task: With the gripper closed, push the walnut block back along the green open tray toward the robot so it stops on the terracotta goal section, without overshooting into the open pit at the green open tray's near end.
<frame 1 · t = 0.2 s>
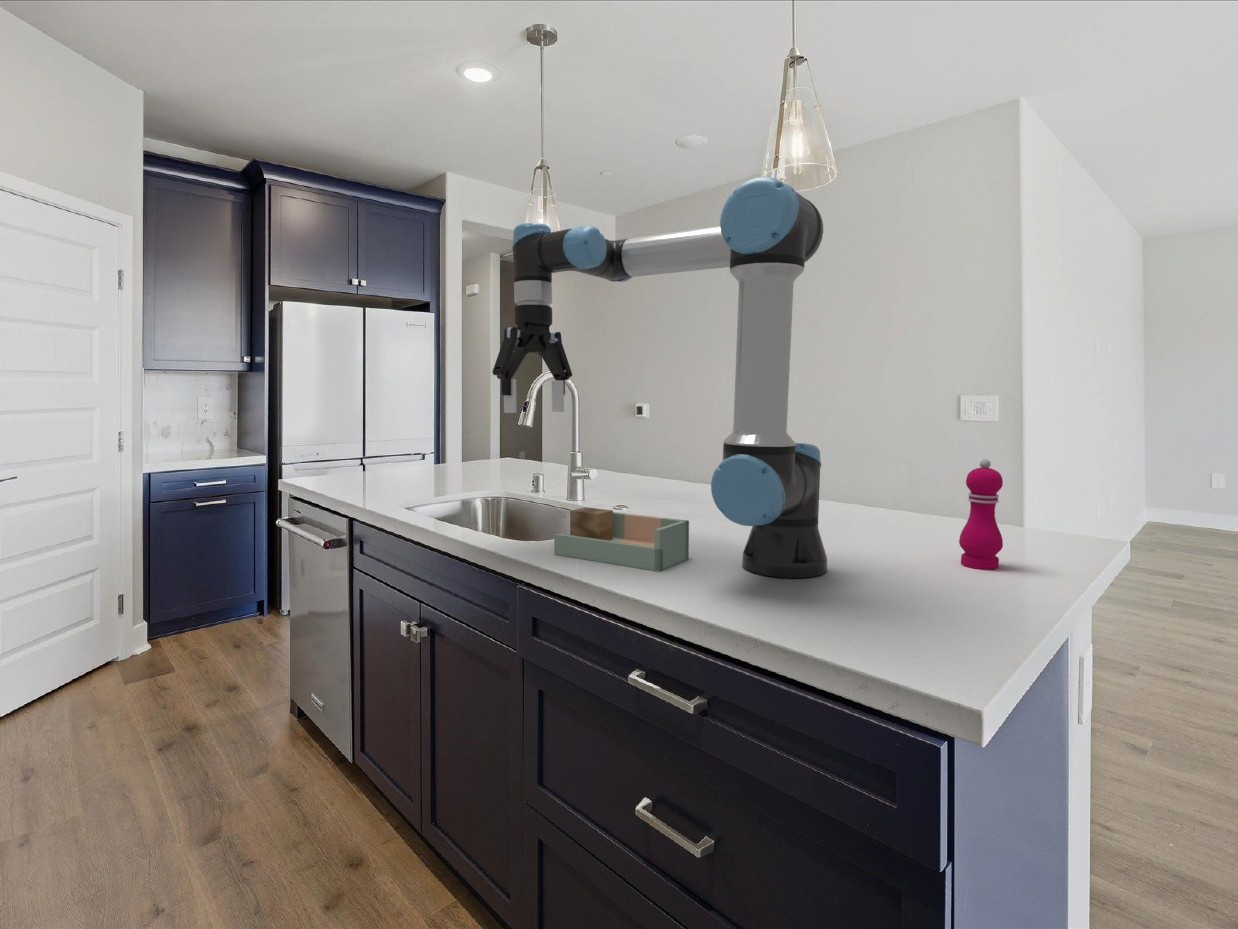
hand: (535, 412, 138), 28 cm above the countertop, fingers open, 13 cm apart
green open tray: (620, 556, 134), on the countertop
pepper mill: (979, 566, 128), on the countertop
block: (591, 539, 138), point 2 cm above the countertop, touching green open tray
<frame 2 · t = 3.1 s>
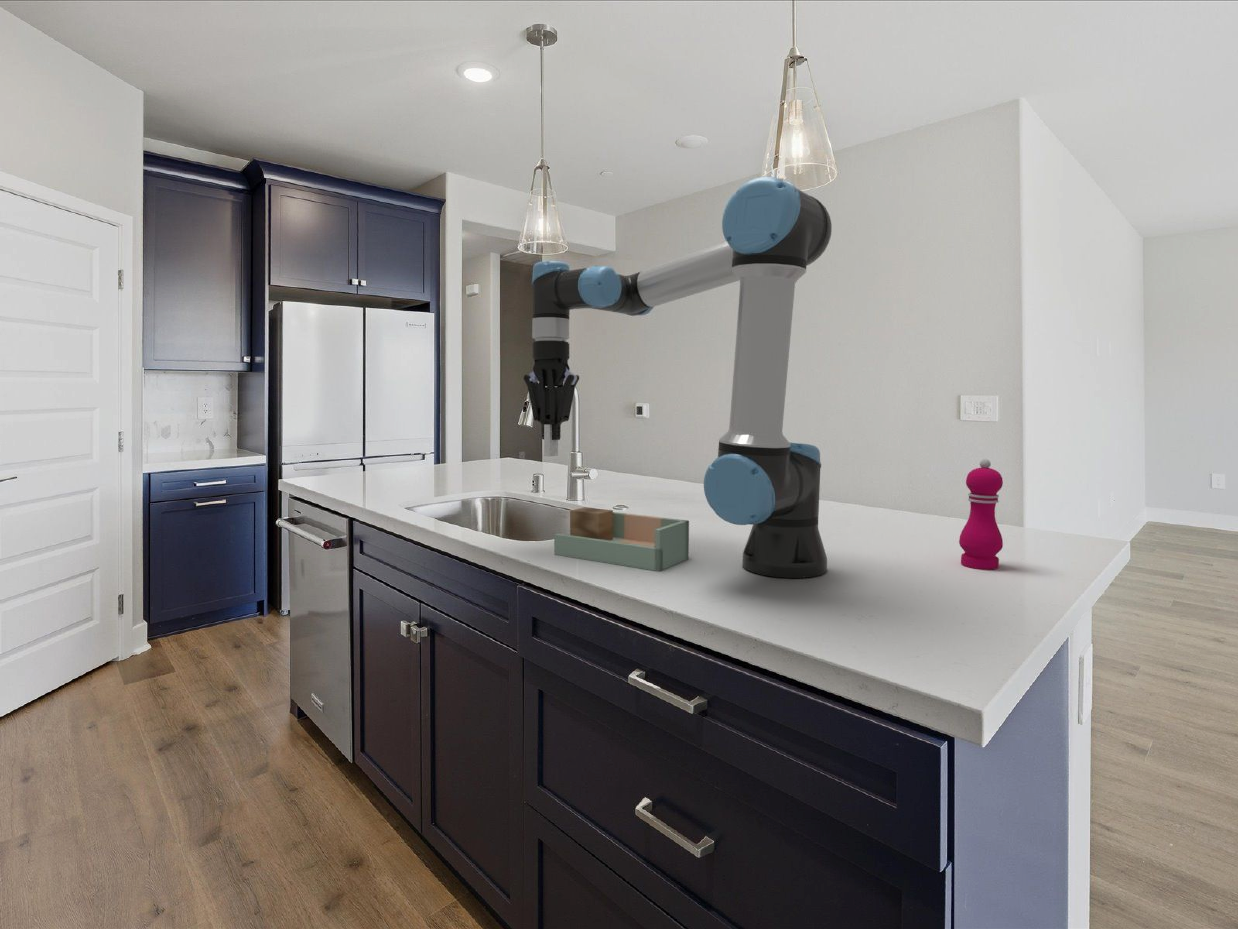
hand: (551, 455, 142), 19 cm above the countertop, fingers closed
nothing on the countertop moved.
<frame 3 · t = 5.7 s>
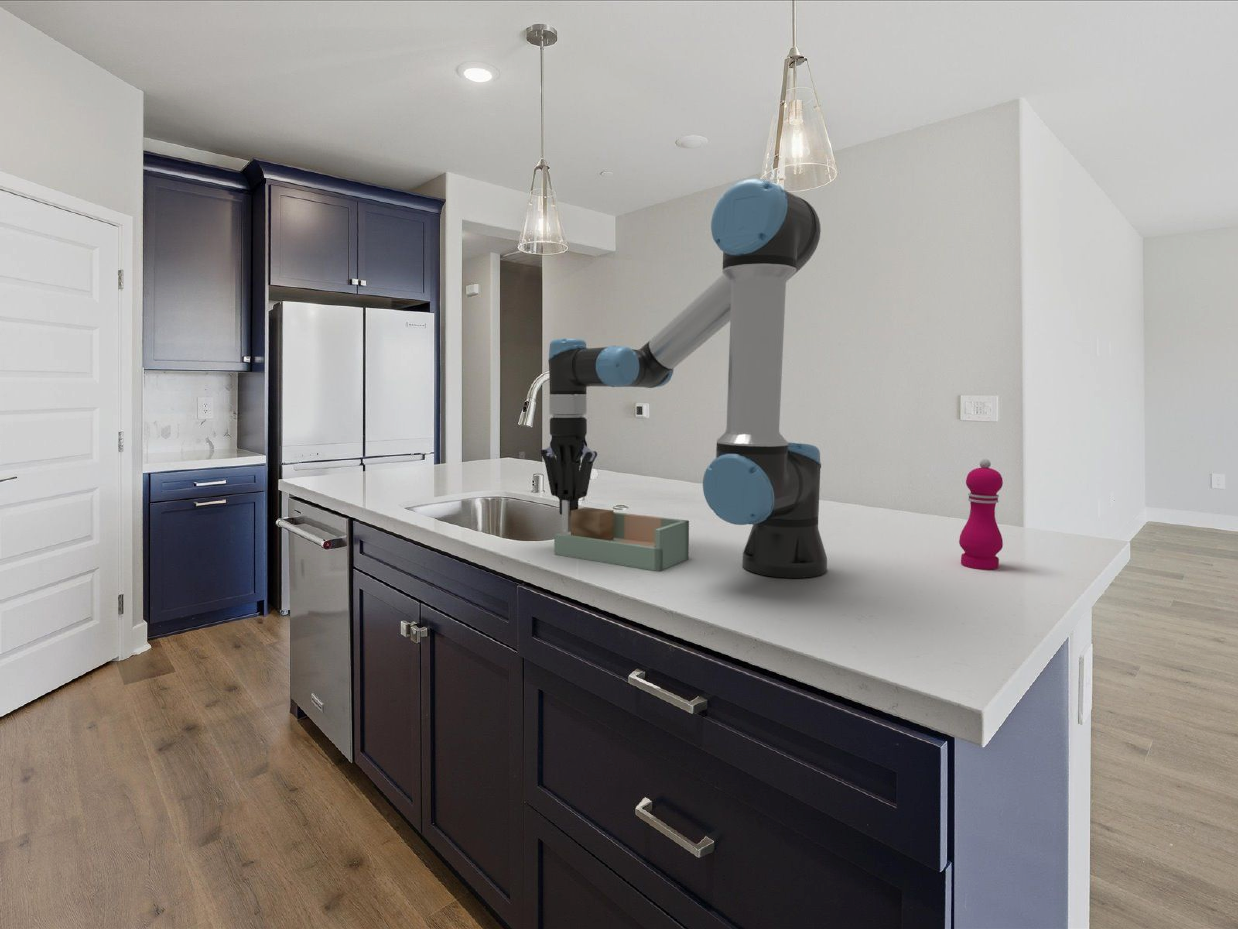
hand: (569, 530, 141), 4 cm above the countertop, fingers closed
block: (592, 539, 138), point 3 cm above the countertop, touching gripper, green open tray
everything else where it was.
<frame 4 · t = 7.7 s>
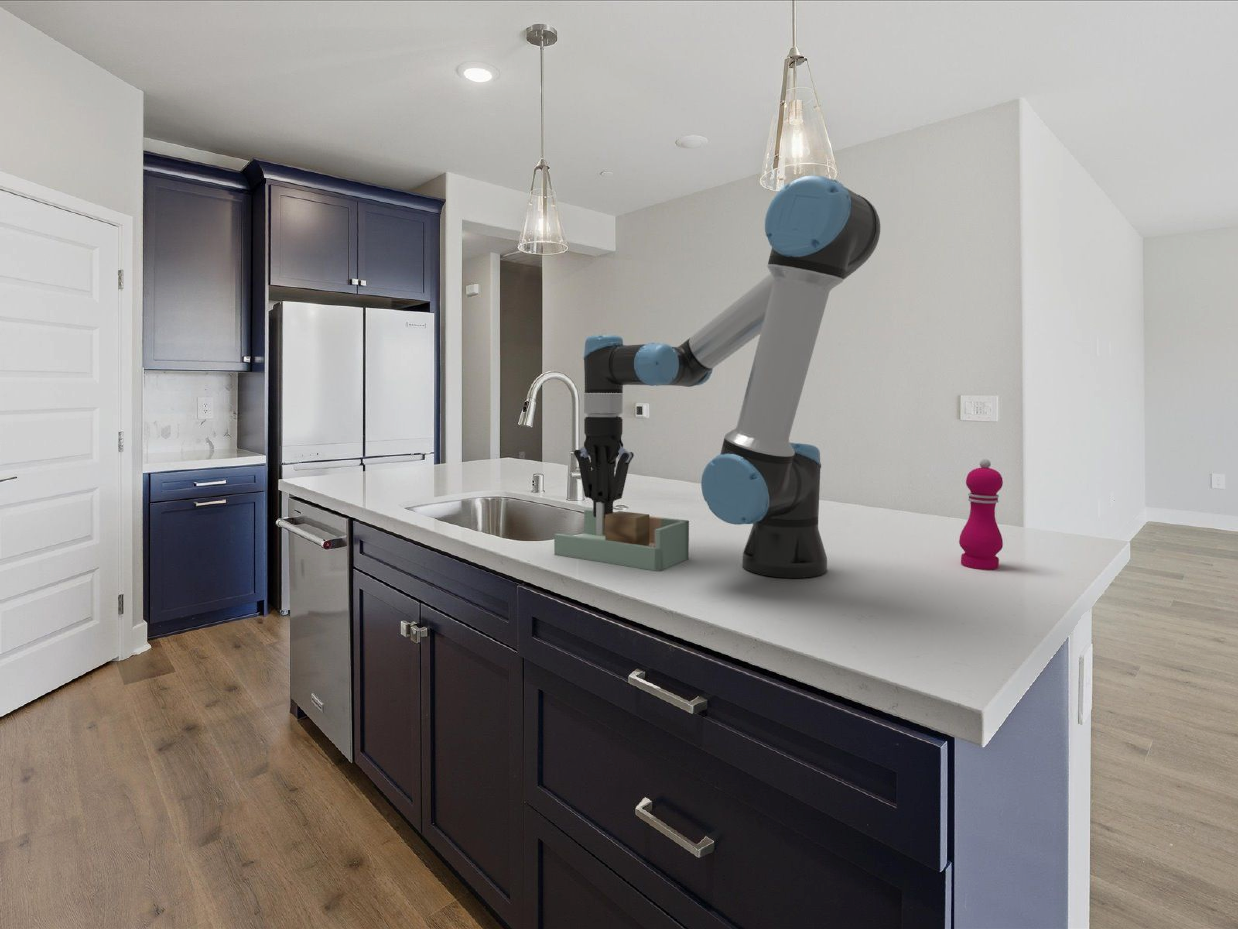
hand: (603, 534, 136), 4 cm above the countertop, fingers closed
block: (627, 544, 133), point 2 cm above the countertop, touching gripper, green open tray
everything else where it was.
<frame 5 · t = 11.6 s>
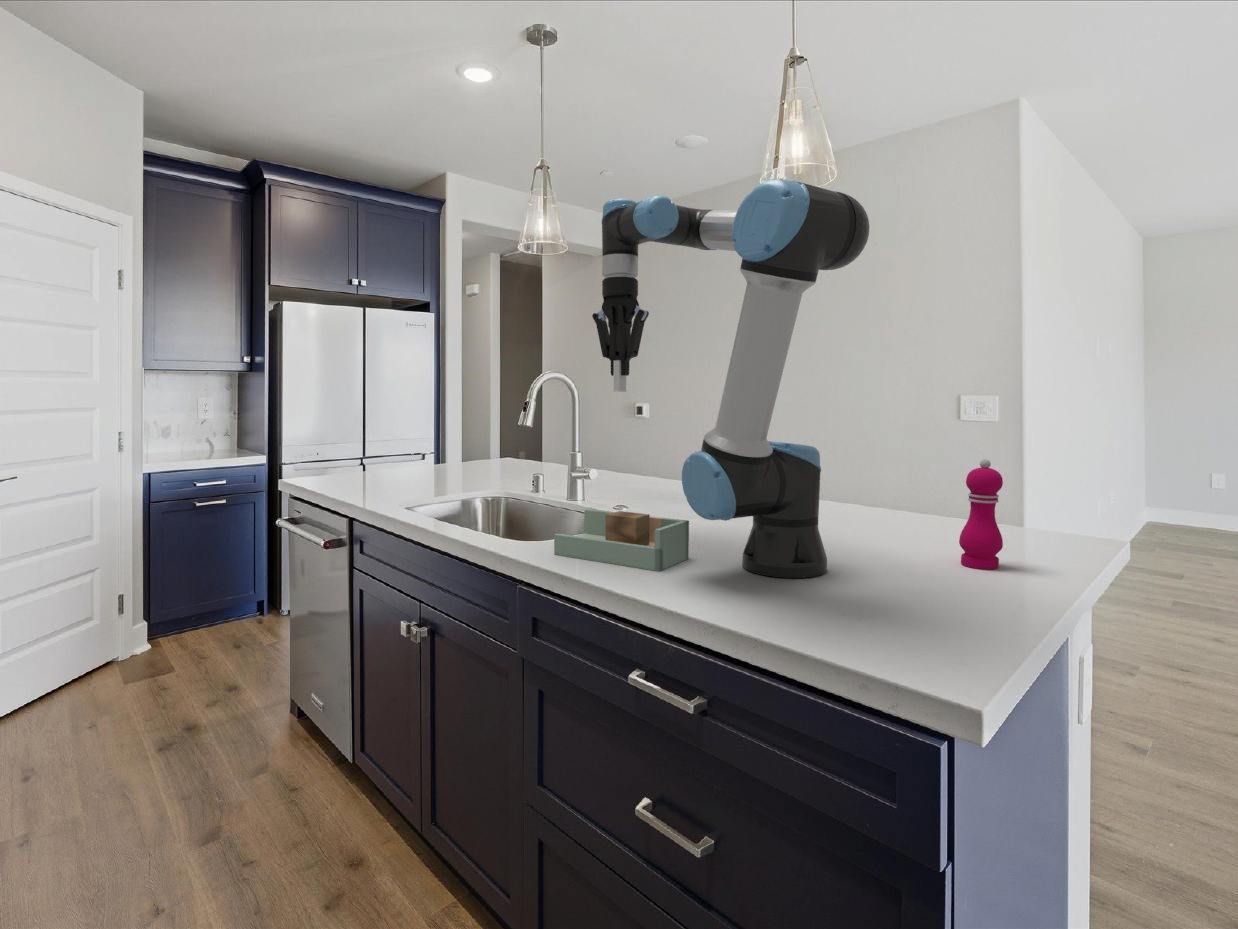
hand: (619, 391, 145), 32 cm above the countertop, fingers closed
block: (627, 544, 133), point 2 cm above the countertop, touching green open tray
everything else where it was.
at the end: block inside the target area on the green open tray (0.0 cm from its centre), point 2.5 cm above the green open tray's base; block tilted 0°; the gripper is holding nothing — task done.
